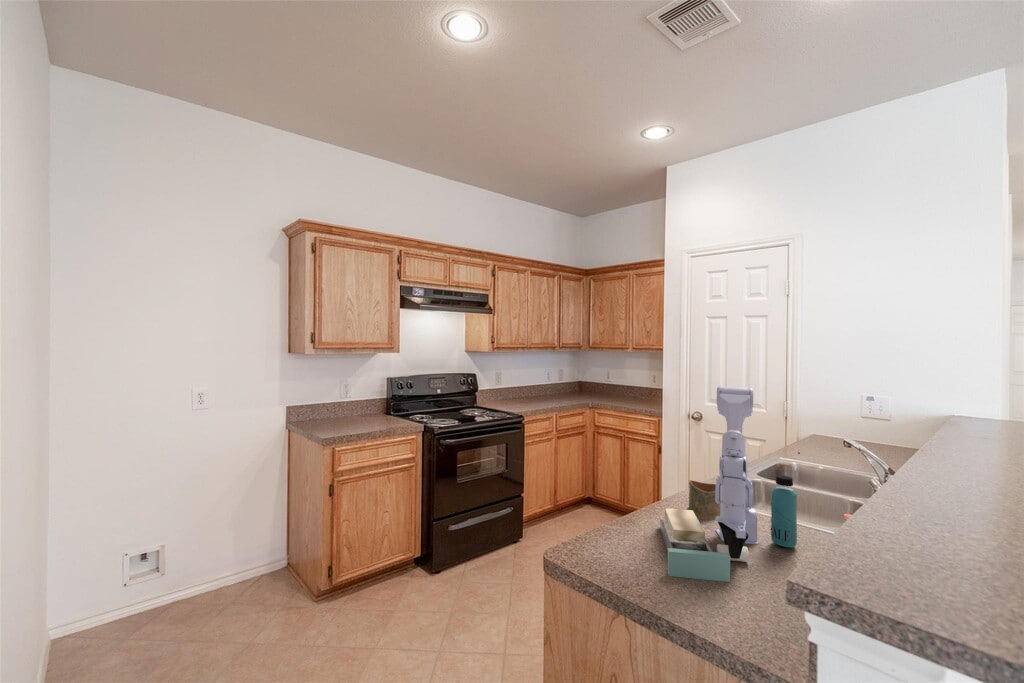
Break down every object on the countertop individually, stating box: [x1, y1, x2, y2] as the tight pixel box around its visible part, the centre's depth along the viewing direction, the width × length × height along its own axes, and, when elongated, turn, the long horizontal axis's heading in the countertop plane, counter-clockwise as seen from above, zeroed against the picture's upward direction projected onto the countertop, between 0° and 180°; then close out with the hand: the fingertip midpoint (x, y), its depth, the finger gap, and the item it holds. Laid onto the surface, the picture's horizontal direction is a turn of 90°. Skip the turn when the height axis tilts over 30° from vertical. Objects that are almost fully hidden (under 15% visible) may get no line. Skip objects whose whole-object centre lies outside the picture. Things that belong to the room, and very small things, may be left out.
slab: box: [664, 508, 706, 541], centre depth 130 cm, size 8×16×2 cm, turn 169°
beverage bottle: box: [770, 475, 798, 548], centre depth 127 cm, size 6×7×20 cm
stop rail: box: [667, 548, 731, 583], centre depth 111 cm, size 14×2×6 cm, turn 79°
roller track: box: [659, 519, 713, 552], centre depth 125 cm, size 11×27×4 cm, turn 169°
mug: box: [685, 479, 720, 520], centre depth 151 cm, size 12×18×12 cm, turn 73°
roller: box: [716, 543, 750, 563], centre depth 119 cm, size 7×4×4 cm, turn 79°
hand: (732, 554), depth 119 cm, fingers closed on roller, 3 cm apart
